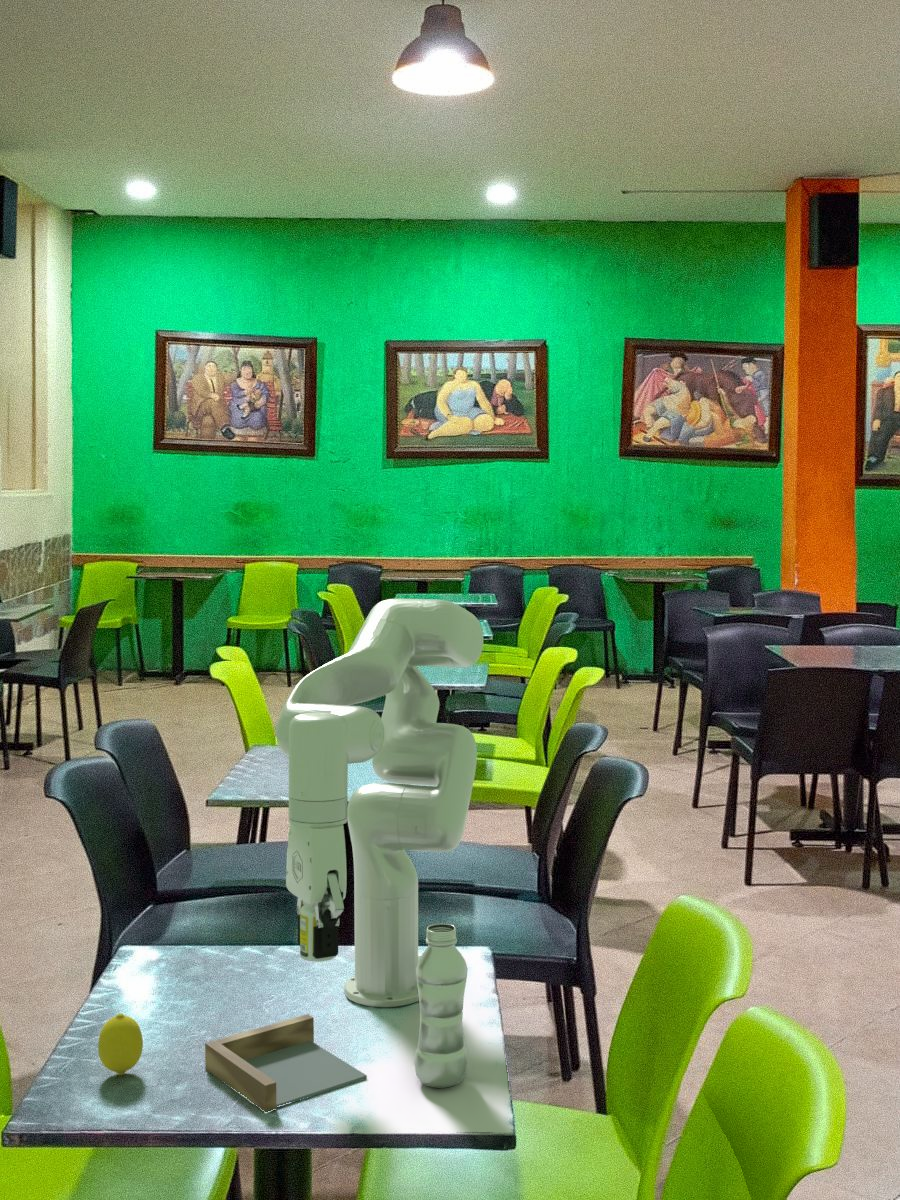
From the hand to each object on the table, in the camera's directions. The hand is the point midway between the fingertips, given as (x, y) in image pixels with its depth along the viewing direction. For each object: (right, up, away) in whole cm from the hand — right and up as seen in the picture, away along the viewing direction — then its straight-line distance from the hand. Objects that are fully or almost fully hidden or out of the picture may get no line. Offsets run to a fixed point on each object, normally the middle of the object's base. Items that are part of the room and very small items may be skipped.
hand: (317, 948), depth 166 cm
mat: (-3, -16, 0) cm, 16 cm away
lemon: (-25, -16, -1) cm, 30 cm away
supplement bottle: (0, -1, 0) cm, 1 cm away
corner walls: (-4, -16, 0) cm, 16 cm away
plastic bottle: (+16, -16, -3) cm, 23 cm away
